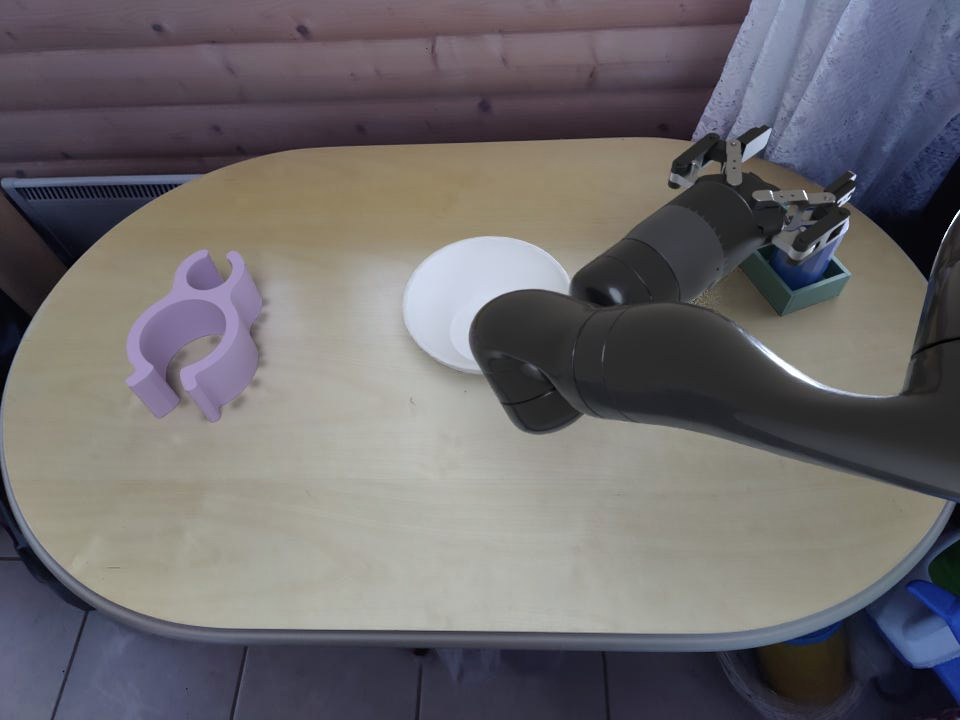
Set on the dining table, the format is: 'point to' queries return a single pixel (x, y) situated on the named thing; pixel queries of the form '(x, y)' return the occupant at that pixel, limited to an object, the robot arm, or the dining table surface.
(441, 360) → the bowl
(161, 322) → the clip
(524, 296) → the robot arm
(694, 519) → the dining table surface
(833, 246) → the cup
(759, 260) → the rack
